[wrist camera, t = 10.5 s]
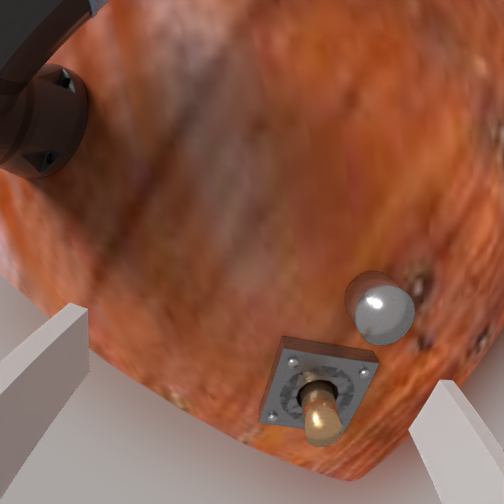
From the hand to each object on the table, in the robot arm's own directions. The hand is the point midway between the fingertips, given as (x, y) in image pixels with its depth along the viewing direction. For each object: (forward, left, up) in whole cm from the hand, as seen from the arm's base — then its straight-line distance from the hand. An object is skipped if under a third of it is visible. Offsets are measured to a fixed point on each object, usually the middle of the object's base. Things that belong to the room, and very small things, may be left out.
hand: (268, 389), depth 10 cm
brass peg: (+10, -17, -25) cm, 32 cm away
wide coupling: (+13, -4, -25) cm, 29 cm away
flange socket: (+10, -17, -25) cm, 32 cm away
